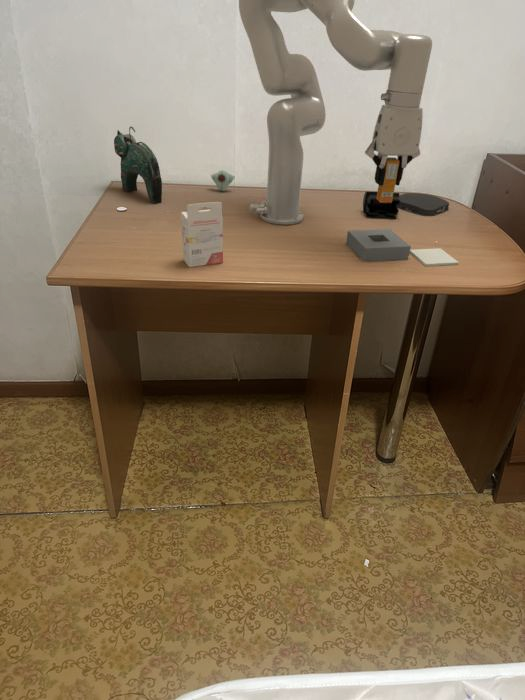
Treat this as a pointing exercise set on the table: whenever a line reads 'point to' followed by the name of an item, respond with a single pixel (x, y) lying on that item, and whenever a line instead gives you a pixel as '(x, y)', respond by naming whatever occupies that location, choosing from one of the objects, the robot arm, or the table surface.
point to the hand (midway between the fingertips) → (387, 183)
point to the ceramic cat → (138, 166)
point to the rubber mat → (433, 257)
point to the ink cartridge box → (202, 234)
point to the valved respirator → (222, 179)
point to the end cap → (380, 206)
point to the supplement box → (388, 181)
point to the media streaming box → (422, 204)
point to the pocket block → (377, 245)
